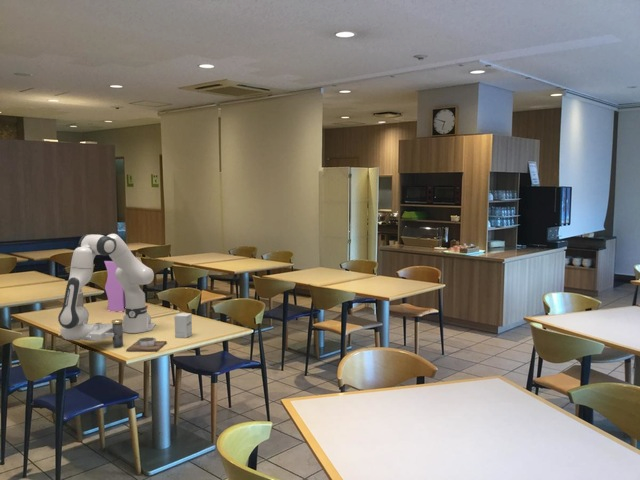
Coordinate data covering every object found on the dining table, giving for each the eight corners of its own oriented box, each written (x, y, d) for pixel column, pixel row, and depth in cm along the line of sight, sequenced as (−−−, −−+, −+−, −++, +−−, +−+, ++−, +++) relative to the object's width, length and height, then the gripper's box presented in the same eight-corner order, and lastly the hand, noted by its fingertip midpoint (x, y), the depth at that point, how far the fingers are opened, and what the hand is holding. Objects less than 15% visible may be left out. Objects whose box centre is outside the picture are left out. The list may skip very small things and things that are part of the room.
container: (118, 307, 392) (116, 258, 389) (134, 308, 389) (133, 259, 386) (105, 311, 379) (103, 261, 376) (123, 312, 375) (121, 261, 372)
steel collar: (141, 342, 295) (141, 337, 294) (157, 342, 294) (157, 337, 294) (135, 347, 286) (135, 341, 286) (152, 347, 286) (152, 341, 285)
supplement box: (186, 338, 308) (186, 316, 307) (174, 337, 310) (174, 315, 309) (192, 334, 315) (191, 313, 314) (180, 334, 317) (180, 312, 316)
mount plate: (137, 343, 299) (137, 340, 298) (166, 343, 298) (166, 341, 298) (126, 351, 283) (126, 349, 282) (156, 351, 282) (156, 349, 282)
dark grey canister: (115, 345, 295) (114, 319, 294) (125, 345, 295) (124, 319, 293) (110, 348, 289) (109, 321, 288) (121, 348, 289) (120, 321, 288)
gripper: (82, 331, 281) (109, 331, 281) (100, 321, 302) (125, 321, 301) (83, 343, 282) (109, 343, 281) (100, 333, 302) (125, 333, 302)
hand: (117, 332), depth 291 cm, fingers open, 8 cm apart
